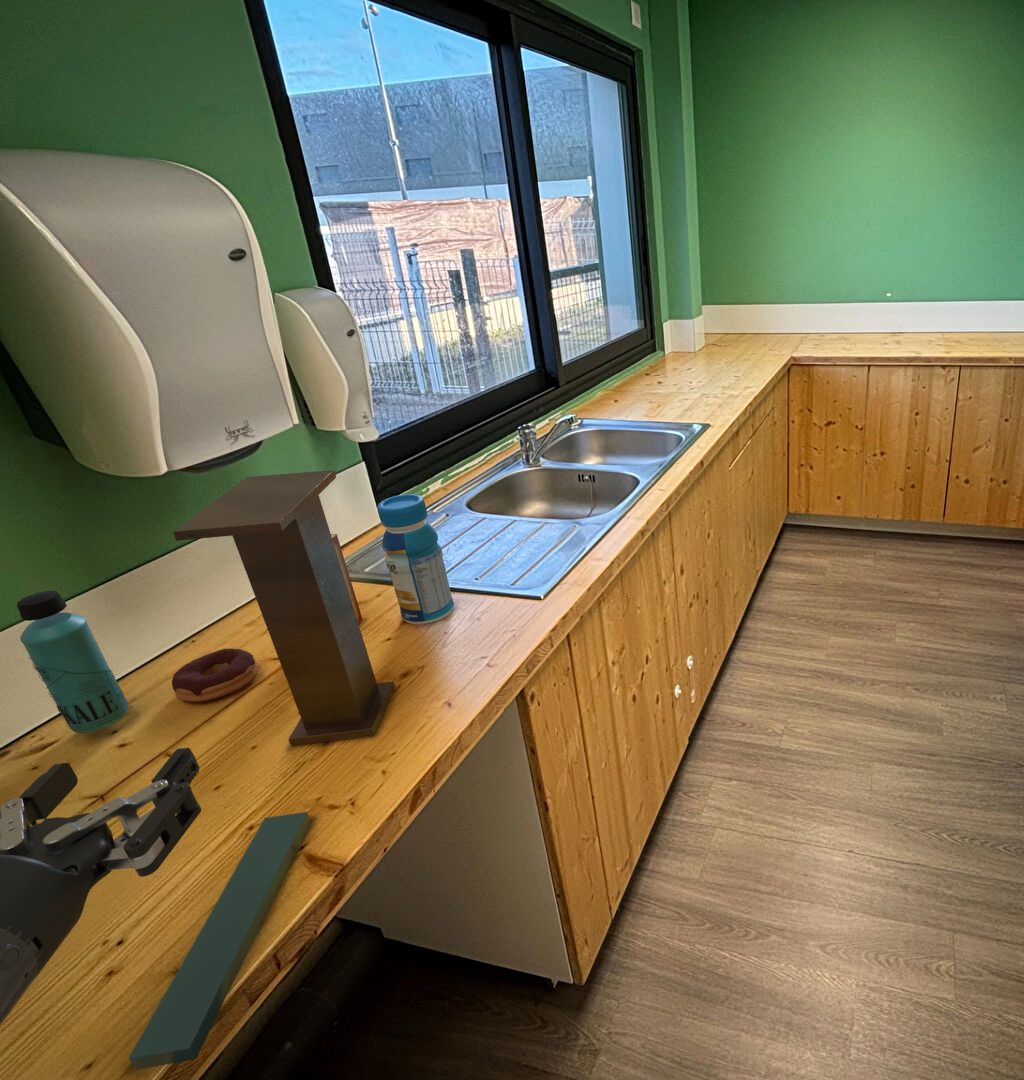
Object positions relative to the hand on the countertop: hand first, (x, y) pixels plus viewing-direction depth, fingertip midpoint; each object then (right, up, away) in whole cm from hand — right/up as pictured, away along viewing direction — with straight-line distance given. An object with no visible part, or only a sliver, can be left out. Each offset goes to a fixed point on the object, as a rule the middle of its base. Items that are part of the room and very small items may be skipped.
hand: (129, 763), depth 54 cm
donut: (-26, -4, +46) cm, 53 cm away
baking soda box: (-16, +2, +56) cm, 59 cm away
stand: (-4, -7, +37) cm, 38 cm away
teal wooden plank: (0, -19, +12) cm, 22 cm away
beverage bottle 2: (-3, +5, +62) cm, 62 cm away
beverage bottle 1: (-36, -8, +38) cm, 53 cm away
